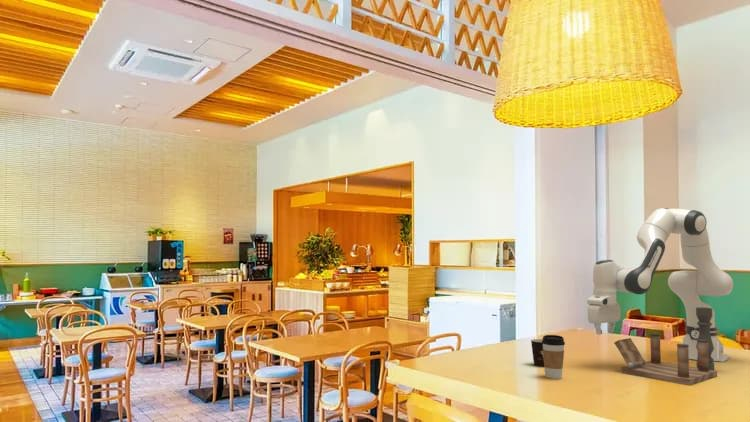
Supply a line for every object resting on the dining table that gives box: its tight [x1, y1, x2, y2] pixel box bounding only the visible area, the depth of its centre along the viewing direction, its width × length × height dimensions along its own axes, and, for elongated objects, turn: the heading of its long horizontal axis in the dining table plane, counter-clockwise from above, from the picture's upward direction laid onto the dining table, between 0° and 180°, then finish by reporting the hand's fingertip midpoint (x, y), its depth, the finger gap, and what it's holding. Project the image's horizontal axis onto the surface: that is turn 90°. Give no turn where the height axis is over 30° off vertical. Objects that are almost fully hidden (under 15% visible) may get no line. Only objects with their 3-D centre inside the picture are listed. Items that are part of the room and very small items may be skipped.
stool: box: [620, 333, 718, 386], centre depth 218 cm, size 25×25×14 cm
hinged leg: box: [613, 337, 647, 368], centre depth 223 cm, size 10×2×11 cm
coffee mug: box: [530, 338, 545, 368], centre depth 231 cm, size 12×9×10 cm
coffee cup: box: [542, 334, 566, 380], centre depth 211 cm, size 8×8×15 cm
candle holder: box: [696, 307, 716, 371], centre depth 226 cm, size 6×6×25 cm
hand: (605, 333), depth 231 cm, fingers open, 8 cm apart
